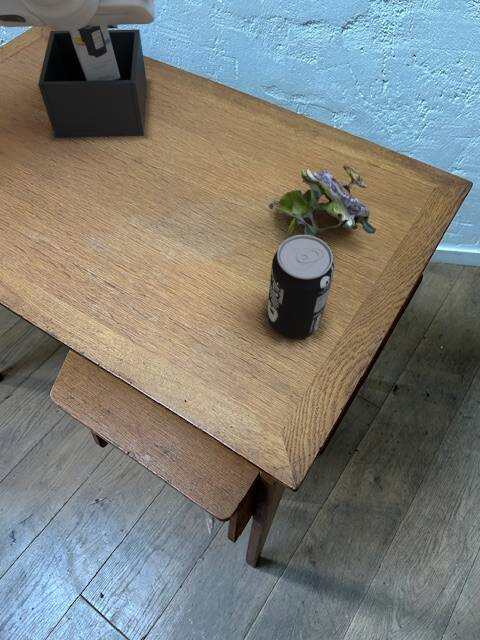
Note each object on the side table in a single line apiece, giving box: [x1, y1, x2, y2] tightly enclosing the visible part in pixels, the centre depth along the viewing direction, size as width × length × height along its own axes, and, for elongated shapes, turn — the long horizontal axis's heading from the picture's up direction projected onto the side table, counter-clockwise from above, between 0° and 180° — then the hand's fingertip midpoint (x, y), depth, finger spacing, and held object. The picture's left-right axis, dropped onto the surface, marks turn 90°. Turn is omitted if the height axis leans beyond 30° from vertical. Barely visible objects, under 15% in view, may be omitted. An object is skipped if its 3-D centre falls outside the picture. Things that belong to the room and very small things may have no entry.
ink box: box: [69, 25, 120, 81], centre depth 77 cm, size 9×5×12 cm, turn 21°
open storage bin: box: [37, 28, 148, 139], centre depth 84 cm, size 13×13×9 cm
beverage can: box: [266, 234, 335, 340], centre depth 62 cm, size 7×7×12 cm
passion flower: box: [268, 164, 377, 239], centre depth 71 cm, size 11×11×12 cm
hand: (86, 23), depth 77 cm, fingers closed on ink box, 6 cm apart
